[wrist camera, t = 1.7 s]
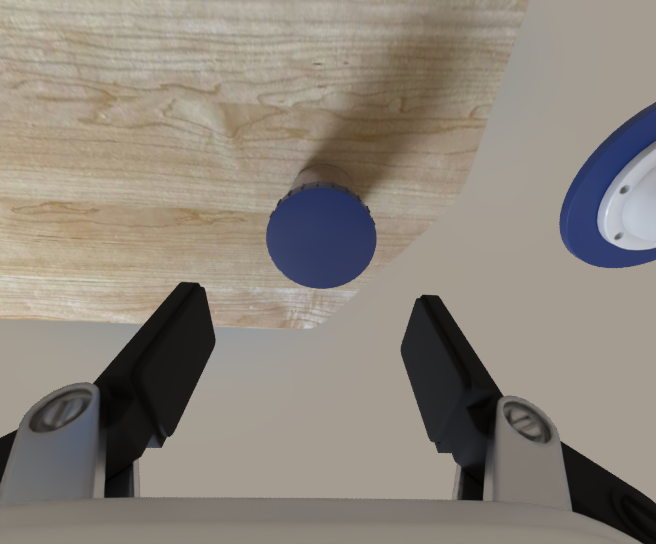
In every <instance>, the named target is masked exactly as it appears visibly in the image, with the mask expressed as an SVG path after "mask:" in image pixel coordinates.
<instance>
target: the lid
mask: <svg viewBox="0 0 656 544" xmlns="http://www.w3.org/2000/svg"><path fill="white" fill-rule="evenodd" d="M374 225H375V223H374V221H373V218H371V215H370V210H369V208H368V206H366V205H365V204H364V203H363V201H362V200H361V198H360V196H359V195H356V194H355V193H354V192H352V191H351V190H349V189H348V187H347V186H346V187H344V186H341V185H339V184H335V183H334V182H333V181H332V183H331V182H319V180H317V182H311V183H307V184H304V183H303V184H302V185H301V186H299V187H297V188H295V189H293V190H290V191H289V193H288V194H287V195H285V196H284V198H283V199H282V200H281V199H280V200H279V202H278V204H277V207H276V209H275V211H273V212H272V214H271V216H270V221H269V224H268V227H267V233H266V241H267V248H268V252H269V254H270V257H271V259H272V261H273V262H274V264H275V266H276V267H277V268H278V269H279V270H280V271H281V272H282V273H283V274H284V275H285V276H286V277H287V278H289V279H290V280H292V281H294V282H296V283H298V284H300V285H303V286H306V287H311V288H318V289H326V288H333V287H338V286H341V285H344V284H346V283H348V282H350V281H352V280H353V279H355V278H356V277H357V276H359V275H360V274H361V273H362V272H363V271H364V270H365V269H366V267H367V266H368V265H369V263H370V261H371V259H372V257H373V255H374V251H375V248H376V230H375V226H374Z"/></svg>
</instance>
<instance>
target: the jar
mask: <svg viewBox="0 0 656 544" xmlns="http://www.w3.org/2000/svg"><path fill="white" fill-rule="evenodd" d="M317 180H319V182H331V183H332V181H333V182H334V183H335V184H339V185H341V186H344V187H346V186H347V187H348V189H349V190H351V191H352V192H354V193H355V194H356V195H358V194H357V191H356V189H355V186H354V184H353V182H352V180H351V179H350V177H349V176H348V175H347V174H346V173H345V172H344V171H342V170H341V169H339V168H337V167H335V166H332V165H327V164H319V165H314V166H311V167H309V168H307V169H305V170H303V171H302V172H301V173H300V174H299V175H298V176H297V177H296V179H295V180H294V182H293V184H292V186H291V188H290V190H293V189H295V188H297V187H299V186H301V185H302V184H303V183H304V184H307V183H311V182H317ZM290 190H289V191H290ZM288 193H289V192H288Z"/></svg>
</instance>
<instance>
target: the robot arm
mask: <svg viewBox="0 0 656 544" xmlns="http://www.w3.org/2000/svg"><path fill="white" fill-rule="evenodd" d="M597 224H598V229H599V232H600V233H601V235H602V237H603V238H604V239H605V240H607V241H608V242H609V243H611V244H614V245H616V246H618V247H620V248H624V249H627V250H645V249H652V248H656V141H655V142H653V143H652V144H651V145H649V146H648V147H647V148H645V149H644V150H643V151H641V152H640V153H639V154H637V155H636V156H635V157H634V158H633V159H632V160H631V161H630V162H629V163H628V164H627V165H626V166H625V167H624V168H623V169H622V170H621V171H620V172H619V174H618V175H617V176H616V177H615V178H614V180H613V181H612V183H611V184H610V186H609V187H608V189H607V190H606V192H605V194H604V196H603V199H602V201H601V204H600V207H599V210H598V217H597ZM214 346H215V334H214V329H213V324H212V320H211V315H210V310H209V306H208V301H207V296H206V292H205V288H204V287H200V284H199V283H192V282H181V283H179V284H178V286H177V287H176V288H175V289H174V290H173V291H172V293H171V294H170V295H169V296H168V297H167V298H166V300H165V301H164V302H163V303H162V304H161V305H160V306H159V308H158V309H157V310H156V311H155V312H154V313H153V315H152V316H151V317H150V318H149V319H148V320H147V322H146V323H145V324H144V325H143V326H142V327H141V329H140V330H139V331H138V332H137V333H136V334H135V336H134V337H133V338H132V339H131V340H130V342H129V343H128V344H127V345H126V346H125V347H124V348H123V349H122V351H121V352H120V353H119V354H118V356H116V358H115V359H114V360H113V361H112V362H111V363H110V364H109V366H108V367H107V368H106V369H105V370H104V371H103V373H102V374H101V375H100V376H99V377H98V378H97V380H96V381H95V382H94V383H93V384H91V383H87V382H85V383H75V384H72V385H67V386H65V387H62V388H60V389H58V390H55V391H53V392H52V393H50V394H48V395H47V396H46V397H43V398H42V399H41V400H40V401H38V402H37V403H36V404H35V405H34V406H32V407H31V408H30V410H29V411H28V412H27V413H26V414H25V415H24V417H23V419H22V421H21V423H20V425H19V428H18V429H17V430H15V431H13V432H12V433H9V434H7V435H5V436H3V437H1V438H0V544H656V503H655V502H653V501H652V500H651V499H650V498H648V497H647V496H645V495H644V494H643V493H641V492H640V491H638V490H637V489H635V488H634V487H632V486H630V485H629V484H627V483H626V482H624V481H623V480H621V479H619V478H618V477H616V476H615V475H613V474H612V473H610V472H608V471H607V470H605V469H604V468H602V467H601V466H599V465H597V464H596V463H594V462H593V461H591V460H590V459H588V458H587V457H585V456H583V455H582V454H580V453H579V452H577V451H575V450H574V449H572V448H571V447H569V446H568V445H566V444H564V443H563V442H561V441H560V438H559V434H558V431H557V428H556V427H555V425H554V424H553V422H552V421H551V419H550V418H549V417H548V416H547V415H546V414H545V413H544V412H543V411H542V410H540V409H539V408H538V407H537V406H535V405H534V404H532V403H530V402H529V401H527V400H525V399H522V398H519V397H516V396H505V397H504V396H503V395H502V393H501V392H500V390H499V388H498V387H497V385H496V384H495V382H494V381H493V379H492V378H491V376H490V375H489V373H488V371H487V370H486V368H485V367H484V365H483V364H482V362H481V361H480V359H479V358H478V356H477V354H476V353H475V351H474V350H473V348H472V347H471V345H470V344H469V342H468V341H467V339H466V337H465V336H464V335H463V333H462V331H461V330H460V328H459V327H458V325H457V324H456V322H455V321H454V319H453V317H452V316H451V314H450V313H449V311H448V310H447V308H446V307H445V305H444V304H443V302H442V300H441V299H440V297H439V296H437V295H422V296H421V297H420V298H417V299H416V301H415V304H414V307H413V310H412V313H411V316H410V320H409V323H408V326H407V329H406V332H405V335H404V339H403V341H402V345H401V355H402V358H403V361H404V364H405V367H406V371H407V374H408V377H409V380H410V382H411V385H412V389H413V392H414V395H415V398H416V400H417V404H418V407H419V410H420V413H421V416H422V419H423V422H424V425H425V428H426V431H427V434H428V437H429V439H430V441H431V442H435V445H436V448H437V451H438V453H452V455H453V458H454V460H455V462H456V463H457V468H456V475H455V481H454V488H453V495H452V500H422V499H414V500H413V499H339V498H337V499H335V498H331V499H330V498H152V497H151V498H150V497H149V498H148V497H146V498H143V497H140V480H139V479H140V478H139V458H140V457H141V456H142V454H143V452H144V451H145V449H146V448H162V446H163V444H164V442H165V440H166V438H167V437H170V436H171V435H172V434H173V433H174V431H175V429H176V427H177V425H178V423H179V421H180V418H181V416H182V414H183V412H184V410H185V408H186V406H187V404H188V402H189V399H190V397H191V395H192V393H193V391H194V389H195V387H196V385H197V382H198V380H199V378H200V376H201V374H202V372H203V370H204V368H205V366H206V363H207V361H208V359H209V357H210V355H211V353H212V351H213V348H214Z"/></svg>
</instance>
